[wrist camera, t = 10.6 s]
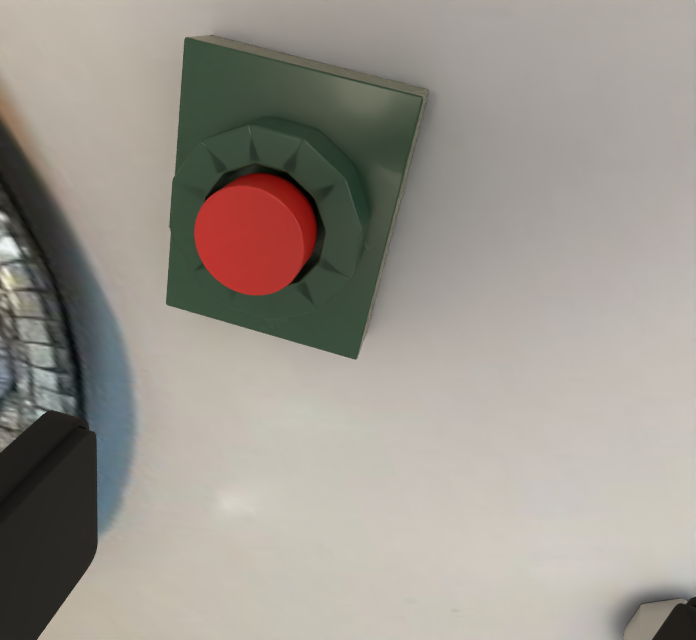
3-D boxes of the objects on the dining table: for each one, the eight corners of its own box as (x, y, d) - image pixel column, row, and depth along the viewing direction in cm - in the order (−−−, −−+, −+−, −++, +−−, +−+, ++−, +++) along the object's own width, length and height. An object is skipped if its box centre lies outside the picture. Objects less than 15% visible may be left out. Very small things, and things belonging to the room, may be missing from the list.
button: (221, 159, 20) (199, 172, 18) (327, 188, 19) (313, 203, 18) (210, 260, 21) (189, 278, 20) (307, 287, 21) (293, 308, 20)
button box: (210, 34, 21) (157, 38, 18) (429, 89, 21) (418, 104, 17) (188, 284, 26) (143, 325, 23) (366, 334, 26) (347, 385, 22)
